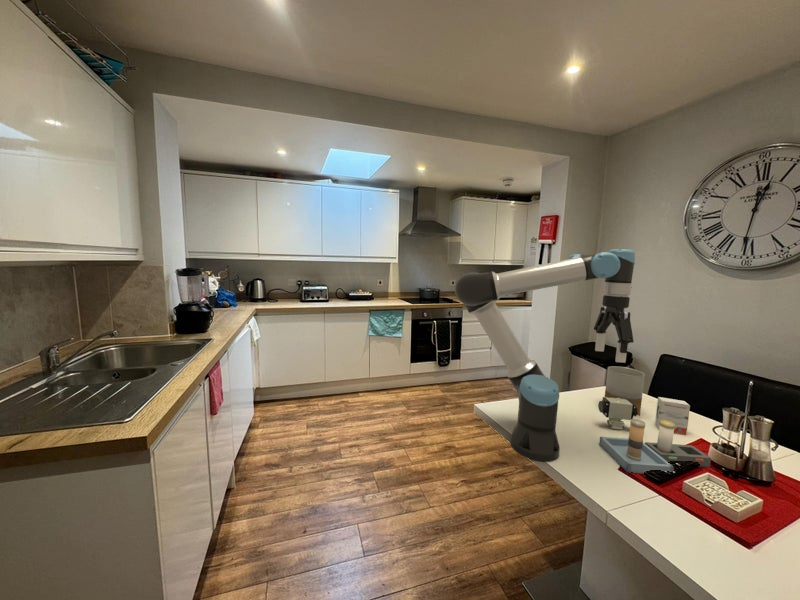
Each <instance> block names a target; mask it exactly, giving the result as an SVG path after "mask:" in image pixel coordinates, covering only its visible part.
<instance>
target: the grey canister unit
mask: <svg viewBox="0 0 800 600" xmlns="http://www.w3.org/2000/svg"><path fill="white" fill-rule="evenodd" d="M606 371H607V373H606V383H605V388H604V389H605V390H604V397H607V398H620V399H626V400H629V401H630V402H632V403H633V404H634V405H636V407H637V410H638V413H637V416H641V408H642V401H643V394H644V393H643V392H644V385H645V377H646V374H645V373H644V372H642V371H641V370H637V369H635V368H631V367H625V366H616V365H615V366H613V365H612V366H607V370H606Z"/></svg>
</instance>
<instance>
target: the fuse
mask: <svg viewBox="0 0 800 600" xmlns="http://www.w3.org/2000/svg"><path fill="white" fill-rule="evenodd" d="M659 424H660V426H659V430H658V435H657V440H656V441H657V442H656V443H657V449H658V450H660V451H661V452H664V453H671V449H672V444H673V441H674V440H673V439H674V434H675V433H674V428H675V424H674V423H673V422H670V421H667V420H660V423H659Z"/></svg>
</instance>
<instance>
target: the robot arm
mask: <svg viewBox="0 0 800 600" xmlns="http://www.w3.org/2000/svg"><path fill="white" fill-rule="evenodd" d="M635 255H636V254H635V250H632V249H629V248H628V249H627V248H626V249H625V248H624V249H623V248H619V249H618V248H617V249H614V248H613V249H609V250H608V251H602V252H598V253H589V254H584V253H583V254H581V253H578V254H577V253H575V254H571V255H569V257H568V259H564V260H558V261H552V262H549V263H543V264H539V265H533V266H527V267H524V268H523V267H522V268H518V269H514V270H509V271H504V272H499V273H496V272H494V271H489V272H481V273H480V272H474V271H471V272H470V271H469V272H467V273H464V274H462V276H460V277H459V278H458V279H457V281H456V283H455V285H454V293H455V296H456V298H457V299H458V301H459V302H460V303H461V304H463V305H464V307H465V308H466V310H467V312H468V314H471V315H474V316H475V317H476V319H477V321H478V322H479V324H480V326H481V327H482V328H483V330H484V333H485V334H486V336H487V337H488V339H489V341H490V342H491V344H492V346H493V348H494V349H495V350H496V352H497V354H498V355H499V357H500V359H501V360H502V362H503V363H504V365H505V367H506V369H507V372H506V376H507V378H508V380H509V381H510V383H511V385H512V386H513V388H514V390H515V392H516V394H517V395H516V396H517V399H518V413H517V422H516V424H515V426H514V428H513V430H512V433H511V435H510V441H509V442H510V447H511V448H512V449H513V450H514V451H515V452H516V453H517V454H519V455H521V456H523V457H524V458H527V459H530V460H533V461H537V462H552V461H555V460H557V459H559V457H560V452H561V451H560V450H561V449H560V444H559V443H560V442H559V439H558V435H557V432H556V427H557V426H556V425H557V417H558V409H559V407H558V406H559V399H560V389H559V385H558V384H557V382H556V381H554V379H552V378H549V377H548V376H546V375H545V374H544V372H542V370H541V368H540V366H539V365H538V364H537V362H536V360H534V359H532V358H531V359H530V358H529V357H528V355H527V353H526V352H525V350H524V349H523V347H522V345H521V343H520V341H519V340H518V338H517V336H516V335H515V334H514V332H513V330H512V328H511V327H510V325H509V324H508V321H507V320H506V319H505V317H504V315H503V314H502V312H501V311H500V309H499V307H498V305H497V303H496V301H498V300H500V299H501V297H503V296H505V297H506V296H509V295H515V294H521V293H524V292H526V293H527V292H530V291H536V290H541V289H547V288H553V287H557V286H564V285H568V284H573V283H574V284H575V283H578V282H579V283H580V282H584V281H589V280H590V281H591V280H596V279H604V282H603V283H604V285H603V294H604V295H603V296H602V301H601V302H602V306H601V307H600V308H599V309H600V310H599V314H598V316H597V318H596V321H595V324H594V326H593V330H594V331H595V332H596V338H595V347H594V351H595V352H605V344H606V336H607V330H608V328H609V327H610V325H611V324H612V325H613V326H614V328H615V331H616V334H617V338H618V340H617V344H616V351H615V362H616V363H624V364H625V363H626V361H627V355H628V354H627V353H628V346H629V344H630V343H634V342H635V341H634V335H633V329H632V324H631V323H632V322H631V312H630V311H625V309H627V308H629V307H630V300H631V299H630V297H629V296H630V295H631V289H632V282H633V275H634V268H635V259H636V258H635V257H636V256H635Z"/></svg>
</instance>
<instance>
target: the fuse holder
mask: <svg viewBox="0 0 800 600" xmlns="http://www.w3.org/2000/svg"><path fill="white" fill-rule="evenodd" d="M644 443H645V444H646V445H647V446H648V447H650V448H651V449H652V450H653V451H655V452H656V453H657V454H658V455H660V456H661V457H662V458H663V459H665V460H666V461H667V462H670V461H693V462H698V463H699V464H700V466H699V467H701V468H702V467H704V468H710V467H711V461H712V457H710V456H708V455H707V454H706V453H704V452H703V451H701V450H700V449H698V448H696V447H695V446H694V445H691V444H689V445H688V444H676V443H672V449H671V453H664V452H661V451H660V450H658V449H657V442H647V441H645V442H644Z"/></svg>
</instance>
